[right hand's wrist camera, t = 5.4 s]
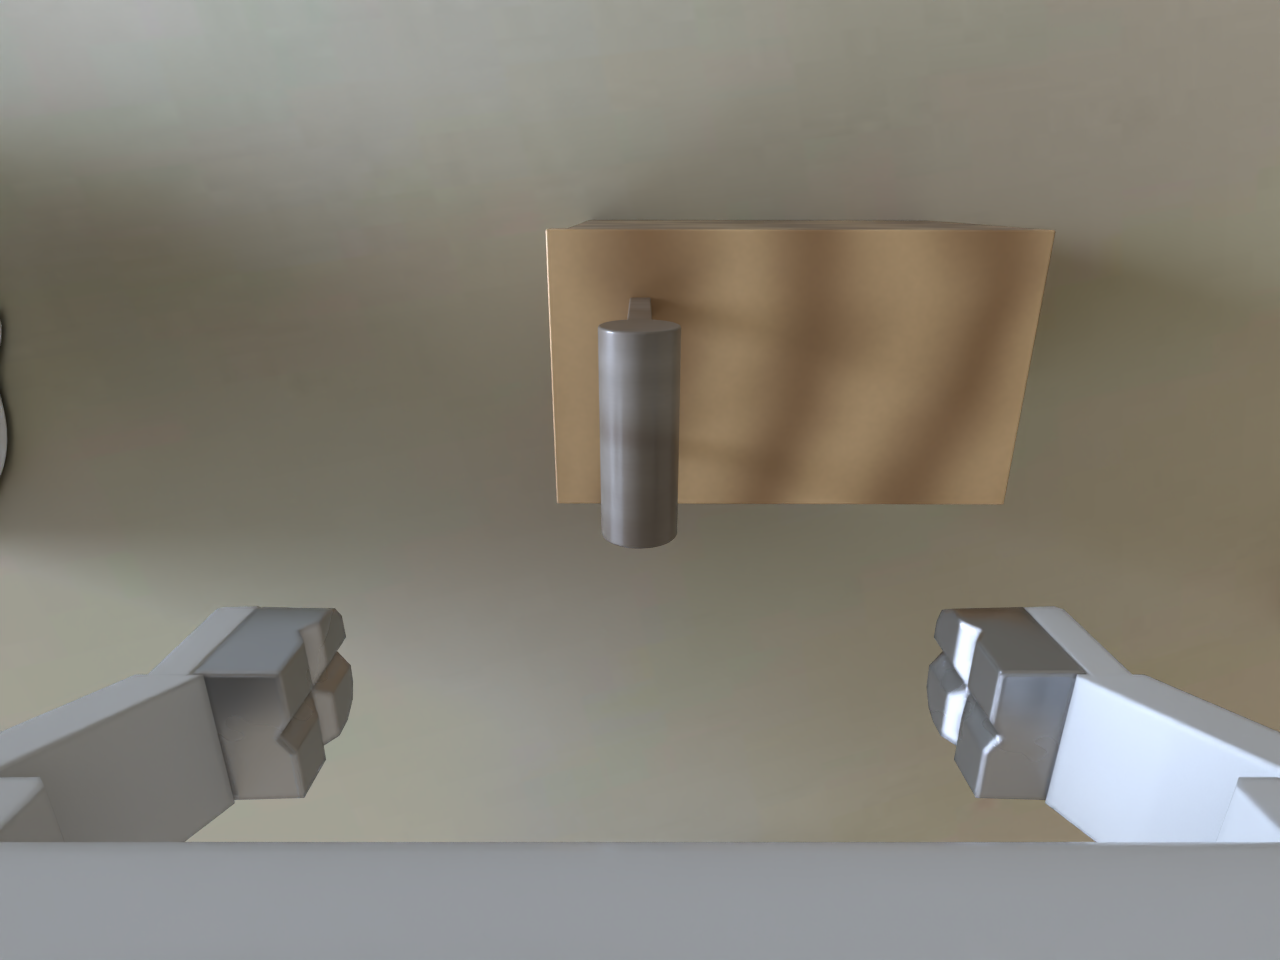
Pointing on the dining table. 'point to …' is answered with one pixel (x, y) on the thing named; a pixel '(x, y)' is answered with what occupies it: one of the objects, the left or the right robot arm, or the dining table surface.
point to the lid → (787, 367)
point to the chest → (781, 224)
